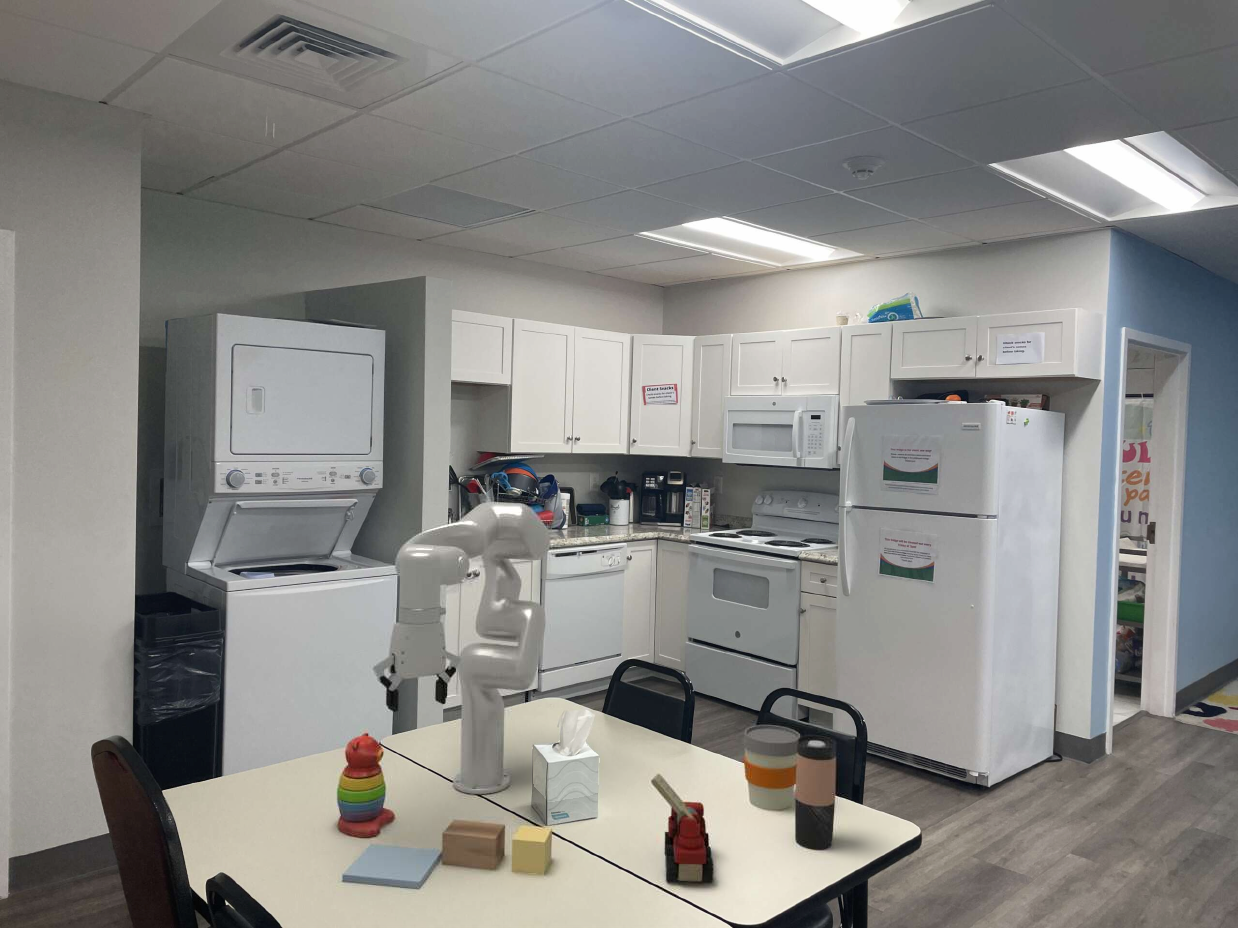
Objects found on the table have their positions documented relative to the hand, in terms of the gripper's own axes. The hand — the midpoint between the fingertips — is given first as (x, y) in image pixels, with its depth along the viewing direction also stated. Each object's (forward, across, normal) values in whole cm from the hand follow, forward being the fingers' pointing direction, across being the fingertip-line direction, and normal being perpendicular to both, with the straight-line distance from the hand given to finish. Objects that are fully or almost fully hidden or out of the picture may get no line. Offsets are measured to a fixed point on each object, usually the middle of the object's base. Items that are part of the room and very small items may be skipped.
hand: (416, 706), depth 171 cm
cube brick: (+27, -15, +18) cm, 36 cm away
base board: (+27, +6, +6) cm, 28 cm away
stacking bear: (+27, +4, -15) cm, 31 cm away
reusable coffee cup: (+26, -73, +23) cm, 81 cm away
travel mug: (+27, -66, +41) cm, 82 cm away
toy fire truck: (+27, -37, +34) cm, 57 cm away
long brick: (+27, -7, +11) cm, 30 cm away
